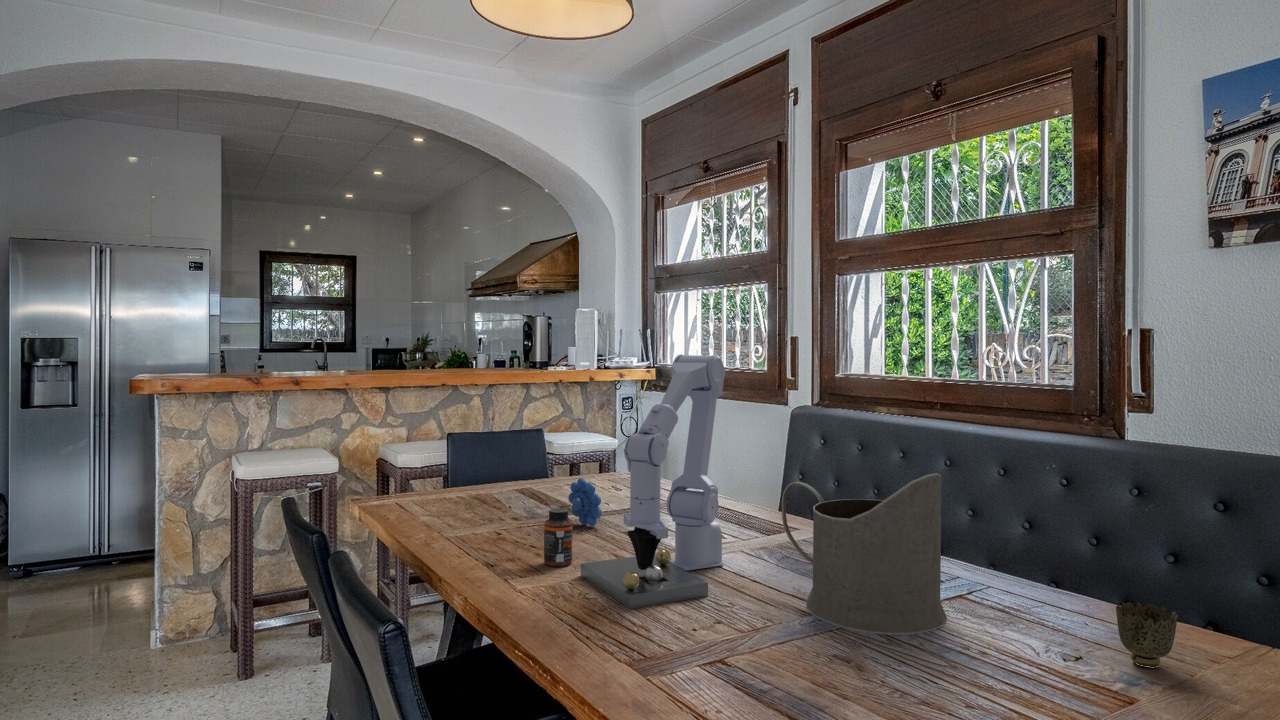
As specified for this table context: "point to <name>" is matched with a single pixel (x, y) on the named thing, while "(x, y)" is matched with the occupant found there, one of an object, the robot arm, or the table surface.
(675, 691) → the table surface
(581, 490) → the grapes
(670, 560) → the robot arm
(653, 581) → the steel ball
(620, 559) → the plate
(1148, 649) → the cup
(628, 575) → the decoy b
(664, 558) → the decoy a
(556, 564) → the supplement bottle
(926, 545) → the pitcher
